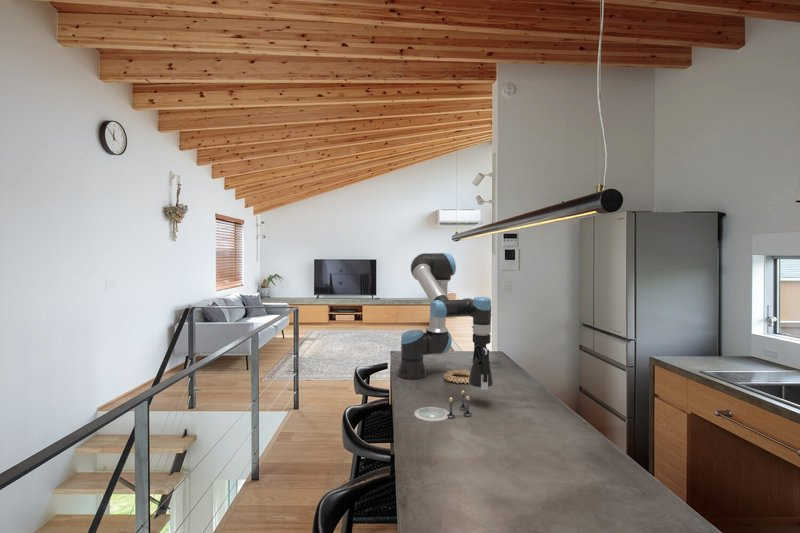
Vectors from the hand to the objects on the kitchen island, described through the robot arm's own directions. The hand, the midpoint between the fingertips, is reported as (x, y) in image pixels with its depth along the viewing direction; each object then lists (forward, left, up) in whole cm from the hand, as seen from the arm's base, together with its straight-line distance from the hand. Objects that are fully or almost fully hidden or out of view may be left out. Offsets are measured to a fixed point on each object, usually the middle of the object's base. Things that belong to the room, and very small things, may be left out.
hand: (480, 384), depth 182 cm
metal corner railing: (+9, -12, -8) cm, 18 cm away
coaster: (+10, -23, -8) cm, 26 cm away
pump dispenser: (0, 0, -3) cm, 3 cm away
